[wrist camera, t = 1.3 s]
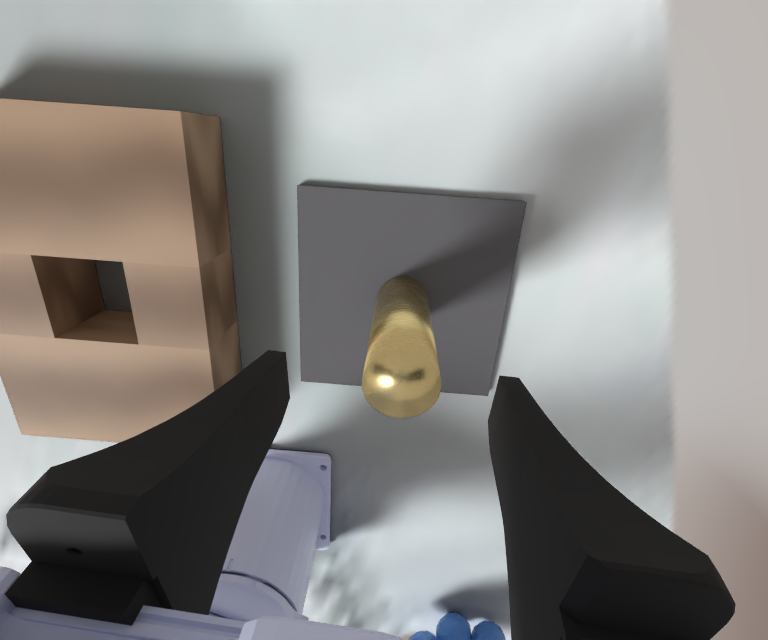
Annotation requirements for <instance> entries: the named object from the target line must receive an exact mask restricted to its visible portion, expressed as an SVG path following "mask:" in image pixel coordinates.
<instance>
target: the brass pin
mask: <svg viewBox="0 0 768 640" xmlns="http://www.w3.org/2000/svg"><path fill="white" fill-rule="evenodd" d="M362 389H363V393H364V396H365V398H366V400H367V401H368V403H369V404H370V405H371V406H372V407H373V408H374V409H376V410H377V411H379V412H380V413H382V414H384V415H387V416H390V417H395V418H409V417H414V416H417V415H420V414H422V413H424V412H425V411H427V410H428V409H429V408H431V407H432V406H433V405H434V403H435V402H436V401H437V399H438V397H439V394H440V391H441V377H440V371H439V365H438V358H437V352H436V346H435V340H434V333H433V327H432V321H431V315H430V308H429V302H428V296H427V293H426V290H425V288H424V287H423V286H422V284H421V283H419V282H418V281H417V280H415V279H413V278H410V277H405V276H399V277H394V278H391V279H389V280H388V281H386V282H385V283H384V284H383V285H382V286H381V287H380V289H379V291H378V293H377V297H376V303H375V309H374V314H373V320H372V326H371V332H370V337H369V343H368V349H367V355H366V360H365V366H364V372H363V378H362Z"/></svg>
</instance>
